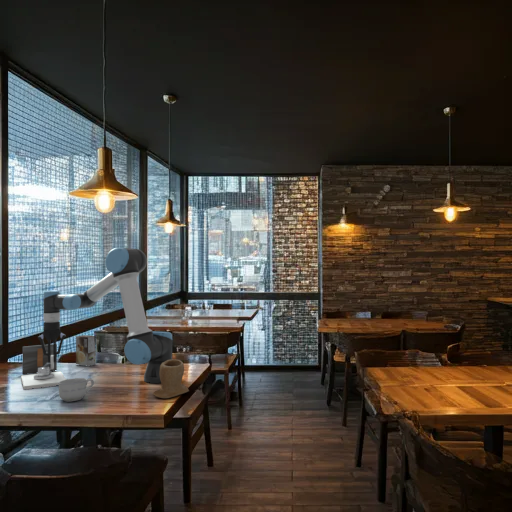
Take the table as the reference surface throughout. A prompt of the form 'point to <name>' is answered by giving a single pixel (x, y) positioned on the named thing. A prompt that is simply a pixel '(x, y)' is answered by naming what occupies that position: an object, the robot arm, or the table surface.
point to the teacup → (74, 389)
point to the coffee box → (86, 350)
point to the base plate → (41, 380)
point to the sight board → (35, 358)
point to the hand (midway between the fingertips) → (52, 368)
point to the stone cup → (171, 379)
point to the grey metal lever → (44, 372)
